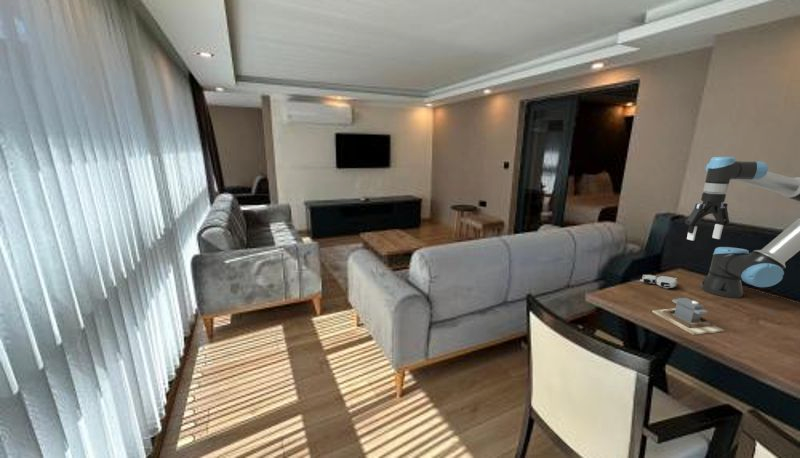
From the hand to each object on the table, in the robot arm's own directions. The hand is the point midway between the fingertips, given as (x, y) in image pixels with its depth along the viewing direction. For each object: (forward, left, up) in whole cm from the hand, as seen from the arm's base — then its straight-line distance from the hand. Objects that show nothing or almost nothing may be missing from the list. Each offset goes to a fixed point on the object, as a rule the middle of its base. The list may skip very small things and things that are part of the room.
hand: (703, 239), depth 144 cm
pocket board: (+20, +16, -31) cm, 40 cm away
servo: (+20, +16, -30) cm, 39 cm away
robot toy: (-2, -18, -31) cm, 36 cm away
